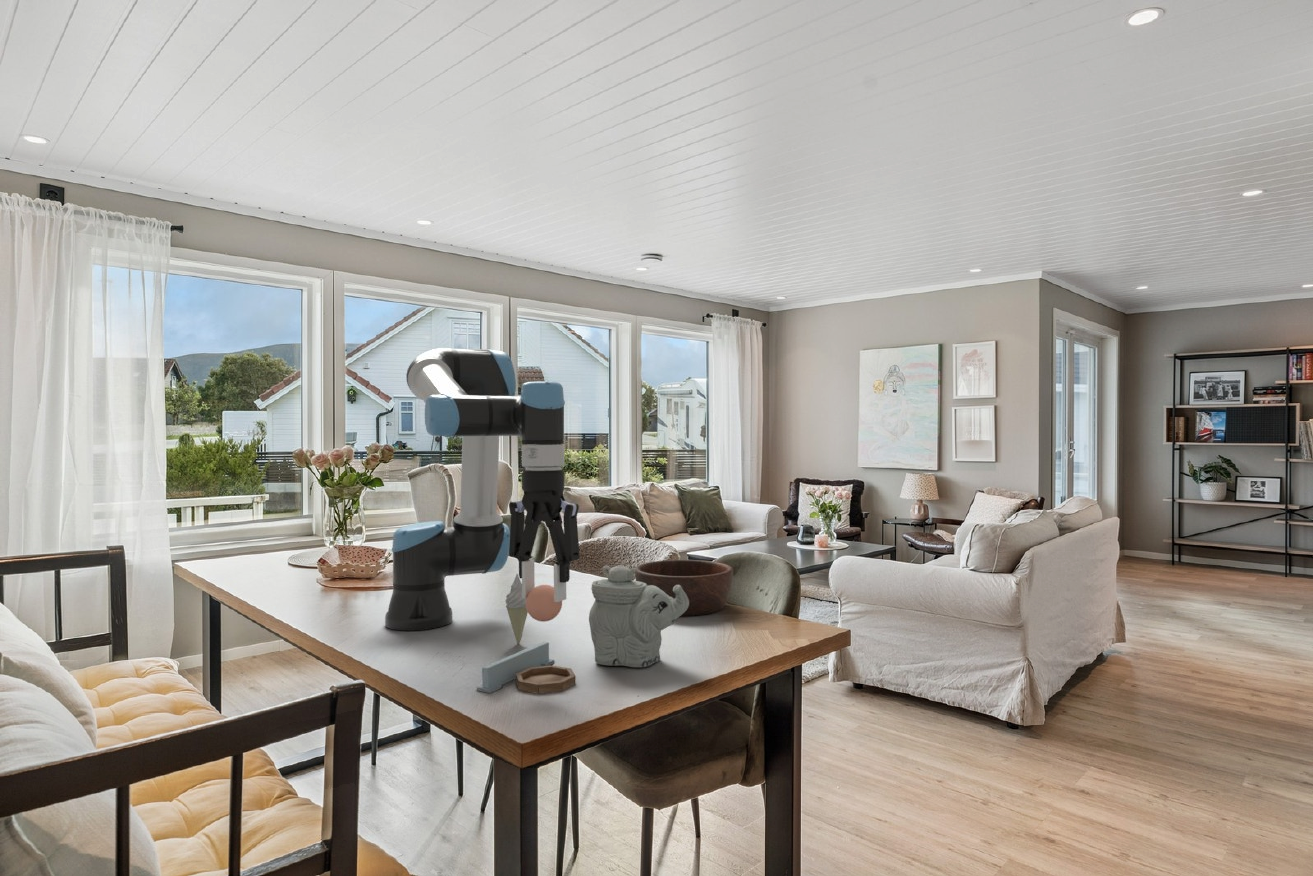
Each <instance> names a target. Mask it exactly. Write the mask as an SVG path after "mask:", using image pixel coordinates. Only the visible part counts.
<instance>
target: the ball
mask: <svg viewBox="0 0 1313 876" xmlns="http://www.w3.org/2000/svg"><path fill="white" fill-rule="evenodd" d="M562 606H563V601H560V602H554V586H552V585H550V584H540V585H537V586H535V588H533V589H532V590H531V591H530V593H529V594H528V596H527V599H526V609H527V611H528V613H527V614H528V615H529V616H530V617H531V618H532V619H534V620H536V621H538V622H544V623H545V622H550V621H553V619H555V618H556V617H558V615H559V613H560V612H561V610H562V608H563V607H562Z"/></svg>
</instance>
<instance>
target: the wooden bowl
mask: <svg viewBox="0 0 1313 876" xmlns="http://www.w3.org/2000/svg"><path fill="white" fill-rule="evenodd" d="M634 568H635V569H636V571H635V573H634V577H635V581H639V582H644V583H646V585H648V586H649V585H653V586H656V587H658V588H660V589H661V590H662V591H663V592H665V593H666V594H667V595H669V596H670V597H672V598H674V599H675V598H676V594H675V593H674V592H673V587H674V586H675V585H680V586H681V587H682V589H683V590H684V592H685V593H686V595H687V597H688V599H689V606H688V608H687V610H686V611H685V612H684V613H683V614H682V615H681V616H680V617H690V616H691V617H693V616H703V615H709V614H714V613H716V612H719V611H721V610H722V609H723V608H724V607H725V606H726V604H727V602H728V599H729V597H730V595H731V594H730V593H731V590H732V583H733V576H734V569H733V567H732V566H731V565H730V564H729V565H728V564H726V563H723V562H718V561H711V560H703V559H701V560H700V559H666V560H657V561H651V562H645V563H641V564H638V565H637V566H636V567H634Z"/></svg>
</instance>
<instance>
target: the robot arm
mask: <svg viewBox="0 0 1313 876" xmlns="http://www.w3.org/2000/svg"><path fill="white" fill-rule="evenodd" d="M405 375H406V379H405V380H406V383H407V384H406V385H407V386H408V388H409V390H410V392H411V393H412V395H413V396H415V397H416V398H418V399H419V400H422V401H423V402H424V403H425V405H424V425H425V429H426V430H425V431H426V432H427V434H428V435H431V436H435V437H445V438H452V437H461V439H462V441H461V444H462V445H461V475H460V476H461V478H460V479H461V480H460V508H459V509H460V511H459V513H458V514H456V515H455V516H454V518H453V526H446V525H445V523H444V522H443V521H441V520H433V521H423V522H418V523H417V522H416V523H413V524H408V525H405V526H401V527H400V528H398V529H396V530H395V531H394V533H393V536H392V547H391V552H392V593H391V597H390V601H389V605H388V609H387V611H386V613H385V617H384V622H385V623H384V626H385V628H388V629H390V630H395V631H422V630H424V631H425V630H430V629H431V630H432V629H436V628H440V627H444V626H447V625H449V624H451V623H452V622H453V610H452V608H451V607H450V602H449V598H448V595H447V592H446V589H445V588H446V587H445V584H446V583H445V580H446V579H445V578H446V577H450V576H452V577H453V576H460V575H472V574H473V575H474V574H475V575H476V574H477V575H478V574H488V573H493V572H498V571H501V570H502V569H503V568H504V566H505V565H506V563H507V562H508V558H509V556H510V557H511V558H513V557H514V558H515V559H516V560H517V561H518V577H519V579H521V583H522V598H525V599H526V598H527V596H528V594H529V593H530V591H531V590H532V589H533V588H535V587H536V586H535V584H536V581H535V559H533V557H534V556H532V553H533V549H534V545H535V541H536V538H537V534H538V530H539V526H540V525H541V524H542V522H544V523H545V527H546V528H547V529H548V532H549V535H550V539H551V542H552V545H553V546H552V547H553V550H554V554H555V558H556V561H557V562H555V563H554V564H553V587H554V602H560V601H562V602H563V601H566V600H567V583H568V582H570V578H571V577H570V571H571V569H570V566H571V565H570V564H571V563H572V562H574V561H577V560H579V559H580V547H579V533H578V517H577V516H578V514H579V508H580V506H579V504H578V503H572V502H571V503H570V502H568V501H566V500H565V497H564V491H565V471H564V469H562V467H565V405H566V404H565V402H566V401H565V398H564V397H565V396H564V395H565V394H564V386H563V385H562V384H561V383H560V382H556V381H527V382H523V384H522V385H521V387H520V388H521V389H520V390H521V391H520V395H516V391H517V381H516V380H517V379H516V373H515V367H514V364H513V361H512V359H511V357H510V355H509V354H508V353H506V352H505V351H502V350H496V349H495V350H494V349H489V348H486V349H483V348H482V349H481V348H451V347H439V348H434V349H430V350H428V351H425V352H423V353H421V354H420V355H418V356H416V357H415V358H414V359H413V360H412V361H411V363H410V364H409V366H408V368H407V370H406V374H405ZM500 437H521V466H522V468H524V469H525V470H522V472H521V489H522V491H523V495H522V497H521V498H522V499H521V500H518V501H510V502H509V503H508V507H509V512H510V527H509V526H508V525H507V523H503V522H504V520H503V519H504V518H503V517H502V516H501V515H500V513H499V512H498V489H499V488H498V487H499V486H498V485H499V460H500V459H499V458H500V456H499V455H500ZM525 511H526V515H525ZM561 513H562V514H563V519H562V515H561Z"/></svg>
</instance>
